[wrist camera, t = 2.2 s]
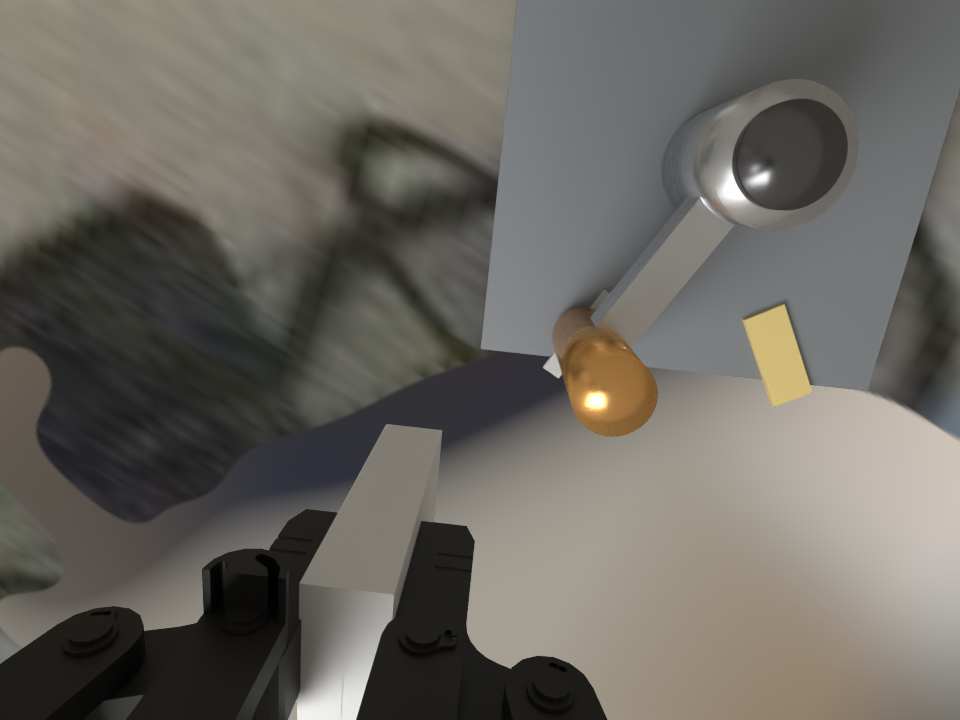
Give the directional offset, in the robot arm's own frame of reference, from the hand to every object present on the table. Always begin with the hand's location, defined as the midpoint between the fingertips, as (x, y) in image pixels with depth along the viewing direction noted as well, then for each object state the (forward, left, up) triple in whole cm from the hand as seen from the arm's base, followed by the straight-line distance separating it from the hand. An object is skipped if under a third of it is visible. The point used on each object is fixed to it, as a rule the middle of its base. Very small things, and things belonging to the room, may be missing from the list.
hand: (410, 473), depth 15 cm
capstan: (+9, +6, -15) cm, 18 cm away
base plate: (+11, +10, -17) cm, 22 cm away
